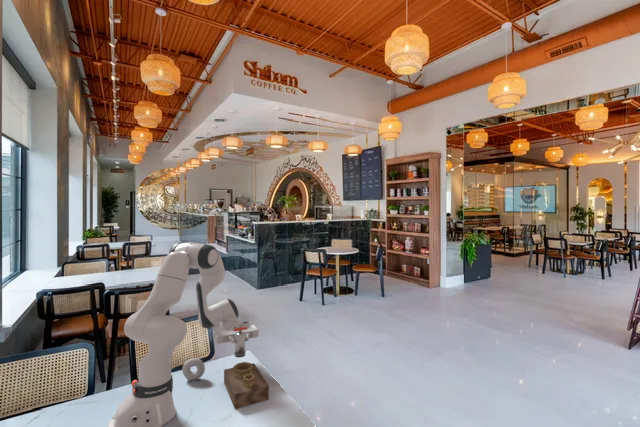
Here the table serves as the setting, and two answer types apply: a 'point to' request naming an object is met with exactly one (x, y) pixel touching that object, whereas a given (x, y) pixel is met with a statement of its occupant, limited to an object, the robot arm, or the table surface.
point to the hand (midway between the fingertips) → (240, 340)
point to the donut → (189, 373)
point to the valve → (240, 342)
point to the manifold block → (245, 385)
